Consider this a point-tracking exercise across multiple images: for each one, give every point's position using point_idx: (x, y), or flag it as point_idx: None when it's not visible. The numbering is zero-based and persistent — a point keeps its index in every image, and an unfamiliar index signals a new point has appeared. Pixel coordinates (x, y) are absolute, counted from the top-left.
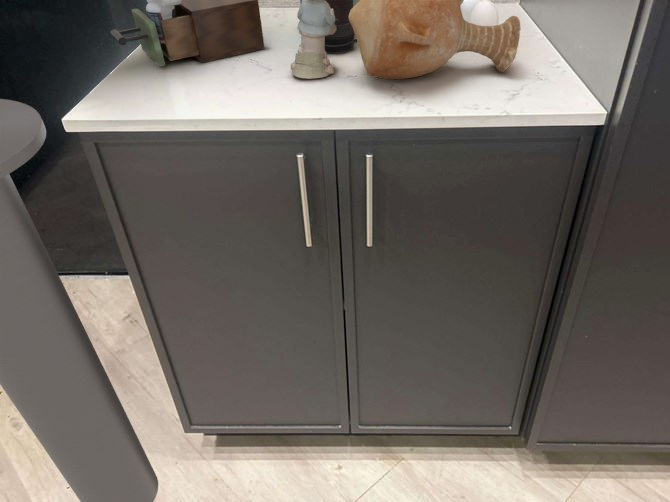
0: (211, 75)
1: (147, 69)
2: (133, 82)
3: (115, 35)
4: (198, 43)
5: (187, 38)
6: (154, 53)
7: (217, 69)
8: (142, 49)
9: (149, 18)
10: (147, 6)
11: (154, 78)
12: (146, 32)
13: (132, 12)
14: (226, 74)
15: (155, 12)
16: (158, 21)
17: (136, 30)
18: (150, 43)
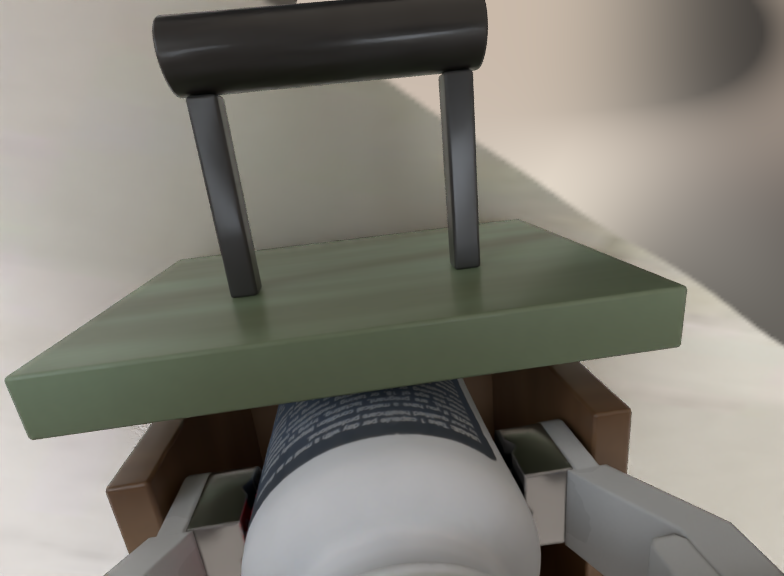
0: (26, 461)
1: (251, 191)
2: (51, 72)
3: (300, 9)
4: None
5: None
6: (196, 271)
7: (103, 495)
8: (514, 220)
9: (218, 411)
10: (377, 486)
11: (80, 201)
12: (252, 300)
13: (651, 279)
14: (17, 517)
15: (260, 507)
16: (269, 451)
17: (448, 233)
18: (226, 282)
